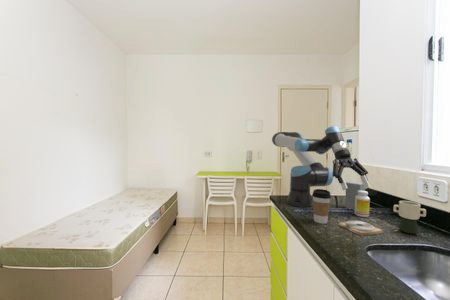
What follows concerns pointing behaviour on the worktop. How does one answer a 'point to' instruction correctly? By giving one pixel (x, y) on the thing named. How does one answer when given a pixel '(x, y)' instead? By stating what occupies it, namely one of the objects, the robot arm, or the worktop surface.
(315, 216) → the coffee cup
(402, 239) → the worktop surface
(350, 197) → the skincare box
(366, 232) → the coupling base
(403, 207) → the character mug
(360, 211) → the supplement bottle
